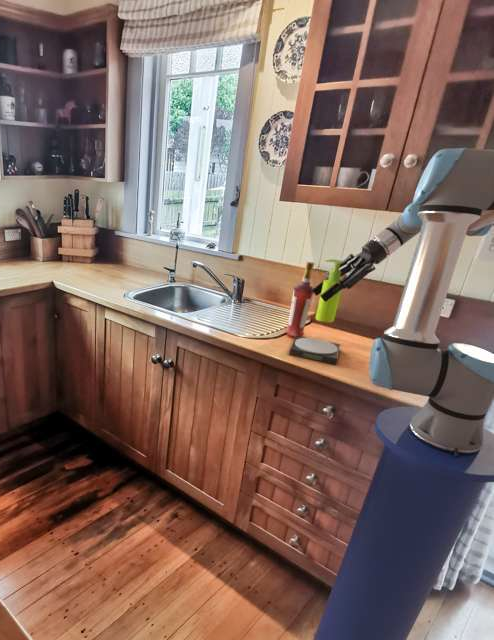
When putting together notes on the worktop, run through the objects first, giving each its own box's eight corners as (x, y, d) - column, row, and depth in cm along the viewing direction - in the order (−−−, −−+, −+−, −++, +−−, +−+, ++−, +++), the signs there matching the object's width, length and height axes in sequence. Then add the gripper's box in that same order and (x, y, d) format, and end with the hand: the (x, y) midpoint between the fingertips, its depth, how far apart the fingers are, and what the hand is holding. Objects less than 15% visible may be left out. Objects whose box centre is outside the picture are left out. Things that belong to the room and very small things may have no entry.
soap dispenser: (317, 315, 163) (330, 257, 154) (336, 320, 158) (351, 261, 150) (309, 318, 159) (322, 259, 151) (328, 323, 154) (342, 263, 146)
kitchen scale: (335, 365, 155) (337, 357, 154) (288, 355, 161) (290, 347, 159) (338, 349, 167) (340, 342, 166) (295, 340, 173) (297, 334, 172)
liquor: (285, 330, 182) (301, 259, 170) (305, 334, 179) (322, 262, 167) (282, 336, 177) (298, 262, 164) (302, 340, 174) (320, 266, 161)
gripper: (402, 263, 141) (337, 312, 148) (370, 250, 158) (312, 295, 164) (391, 244, 139) (325, 296, 145) (359, 233, 155) (301, 280, 162)
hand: (318, 295), depth 155 cm, fingers closed on soap dispenser, 6 cm apart
